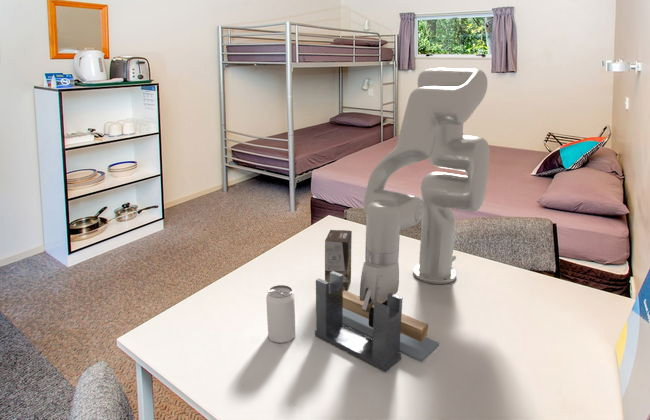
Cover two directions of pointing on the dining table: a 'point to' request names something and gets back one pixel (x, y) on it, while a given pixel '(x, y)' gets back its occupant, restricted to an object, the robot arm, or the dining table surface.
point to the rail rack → (330, 329)
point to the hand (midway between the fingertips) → (379, 323)
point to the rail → (408, 324)
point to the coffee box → (338, 255)
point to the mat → (406, 343)
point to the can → (281, 314)
